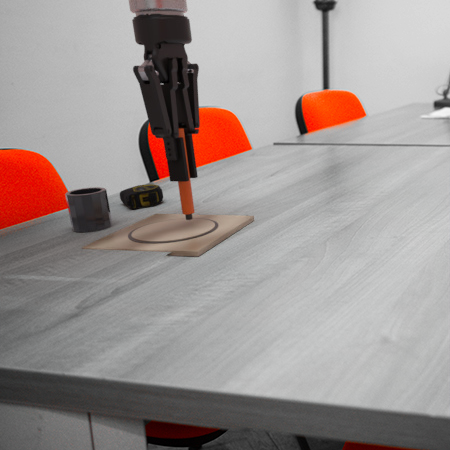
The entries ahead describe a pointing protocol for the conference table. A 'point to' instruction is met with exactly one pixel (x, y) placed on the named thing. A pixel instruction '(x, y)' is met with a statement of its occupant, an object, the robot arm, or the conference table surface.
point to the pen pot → (88, 209)
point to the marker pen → (186, 188)
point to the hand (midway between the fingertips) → (184, 179)
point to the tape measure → (142, 196)
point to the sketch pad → (173, 234)
